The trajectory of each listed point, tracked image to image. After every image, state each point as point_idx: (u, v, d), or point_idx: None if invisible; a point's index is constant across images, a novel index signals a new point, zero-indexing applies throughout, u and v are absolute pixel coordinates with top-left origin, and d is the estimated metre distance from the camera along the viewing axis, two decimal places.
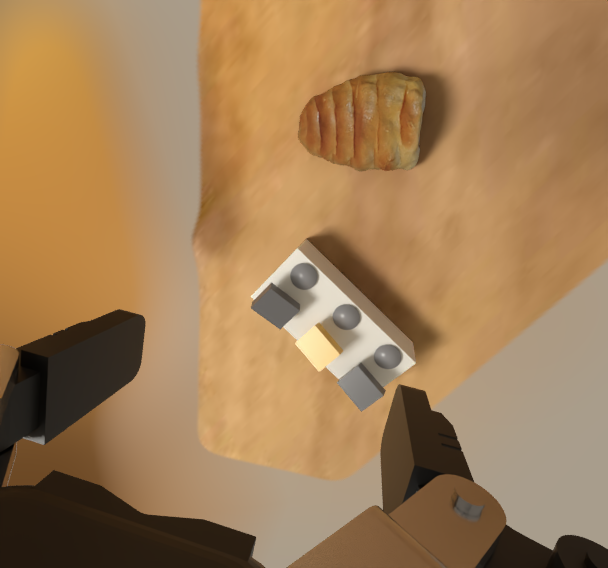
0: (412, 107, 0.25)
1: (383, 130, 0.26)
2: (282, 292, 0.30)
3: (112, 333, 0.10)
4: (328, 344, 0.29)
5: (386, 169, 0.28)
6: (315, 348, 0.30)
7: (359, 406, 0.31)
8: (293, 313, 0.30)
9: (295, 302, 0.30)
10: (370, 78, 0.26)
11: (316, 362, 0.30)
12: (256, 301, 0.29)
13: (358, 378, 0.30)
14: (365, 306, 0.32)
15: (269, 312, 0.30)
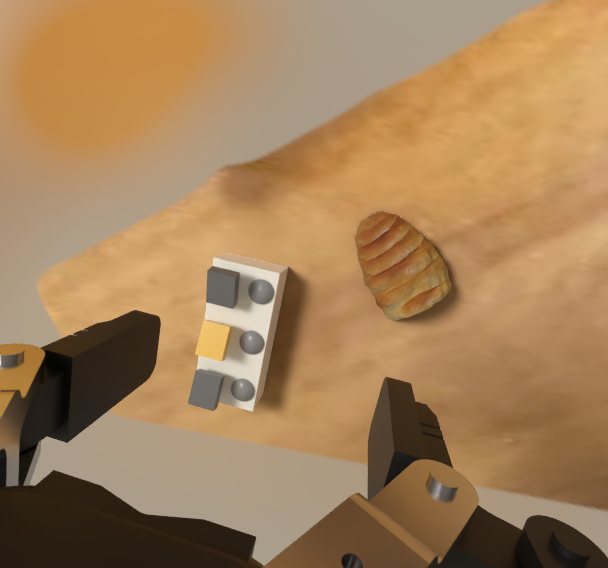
0: (430, 298, 0.31)
1: (404, 288, 0.31)
2: (237, 286, 0.31)
3: (130, 333, 0.10)
4: (222, 347, 0.32)
5: (377, 303, 0.33)
6: (211, 339, 0.32)
7: (190, 399, 0.33)
8: (227, 305, 0.32)
9: (236, 300, 0.32)
10: (433, 253, 0.31)
11: (201, 347, 0.32)
12: (216, 271, 0.31)
13: (211, 384, 0.33)
14: (268, 348, 0.35)
15: (214, 286, 0.31)
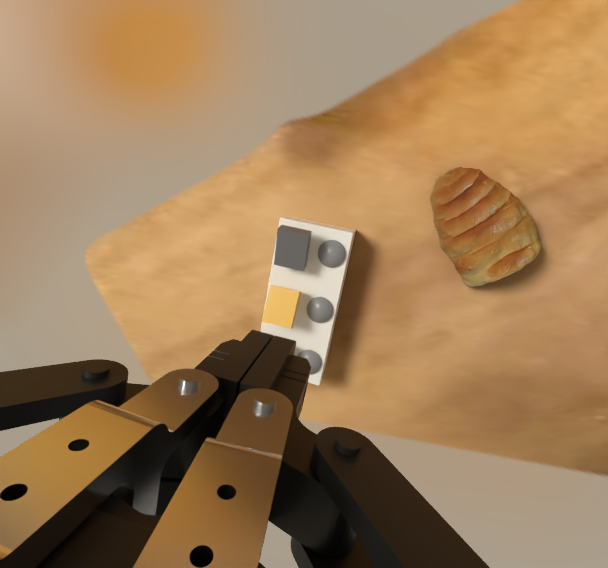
0: (521, 259, 0.28)
1: (491, 248, 0.28)
2: (308, 246, 0.29)
3: (261, 354, 0.11)
4: (291, 313, 0.30)
5: (457, 268, 0.30)
6: (279, 305, 0.30)
7: None
8: (297, 267, 0.29)
9: (306, 262, 0.30)
10: (522, 209, 0.28)
11: (268, 313, 0.30)
12: (287, 229, 0.28)
13: None
14: (335, 317, 0.33)
15: (284, 246, 0.29)
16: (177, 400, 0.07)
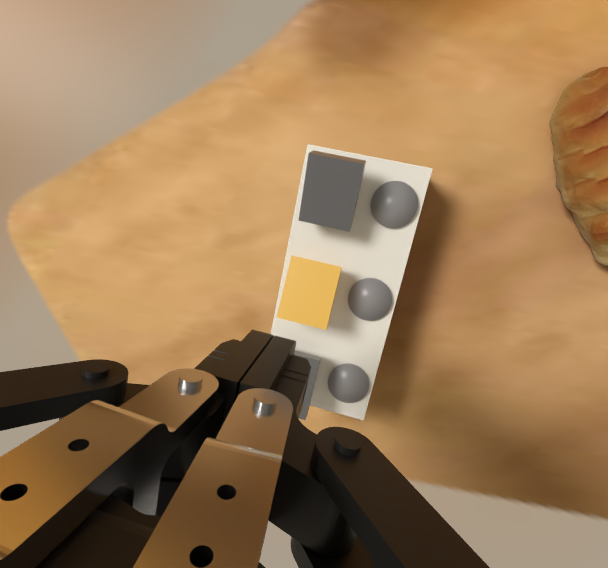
0: None
1: None
2: (359, 188, 0.17)
3: (261, 354, 0.11)
4: (328, 304, 0.17)
5: (598, 235, 0.18)
6: (307, 289, 0.18)
7: None
8: (339, 225, 0.17)
9: None
10: None
11: (287, 304, 0.18)
12: (324, 155, 0.16)
13: None
14: None
15: (319, 187, 0.16)
16: (177, 400, 0.07)
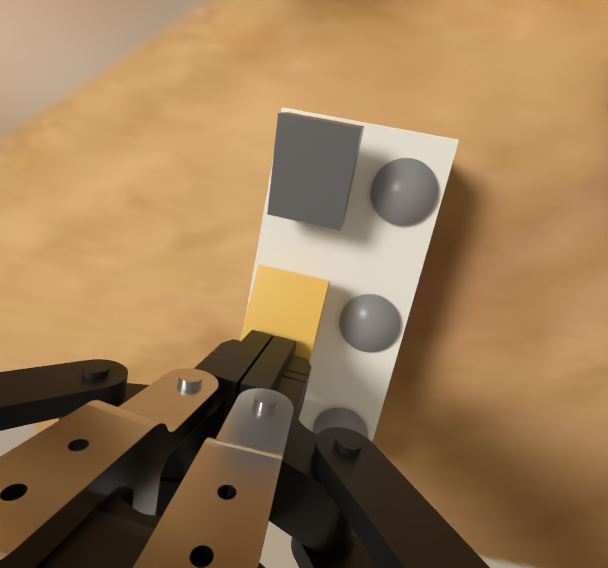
0: None
1: None
2: (355, 166, 0.12)
3: (261, 354, 0.11)
4: (309, 334, 0.12)
5: None
6: (280, 313, 0.12)
7: None
8: (325, 220, 0.12)
9: (345, 210, 0.12)
10: None
11: None
12: (302, 117, 0.11)
13: None
14: None
15: (294, 165, 0.11)
16: (177, 400, 0.07)
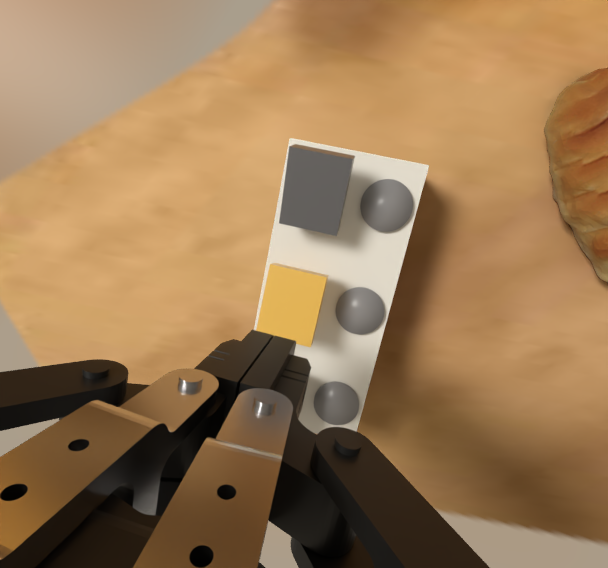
0: None
1: None
2: (347, 186, 0.15)
3: (261, 354, 0.11)
4: (312, 319, 0.15)
5: (601, 252, 0.17)
6: (288, 303, 0.16)
7: None
8: (324, 228, 0.15)
9: (340, 220, 0.15)
10: None
11: (267, 319, 0.16)
12: (307, 149, 0.14)
13: None
14: None
15: (301, 185, 0.14)
16: (177, 400, 0.07)
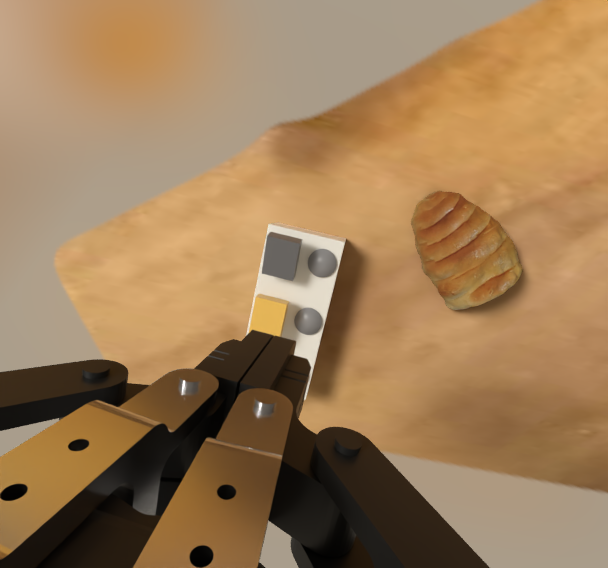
0: (503, 283, 0.28)
1: (473, 273, 0.28)
2: None
3: (261, 354, 0.11)
4: (279, 326, 0.28)
5: (440, 292, 0.30)
6: (266, 318, 0.28)
7: None
8: (286, 277, 0.28)
9: (295, 272, 0.28)
10: (502, 233, 0.28)
11: (254, 326, 0.28)
12: (276, 237, 0.27)
13: None
14: (323, 328, 0.31)
15: (273, 255, 0.27)
16: (177, 400, 0.07)
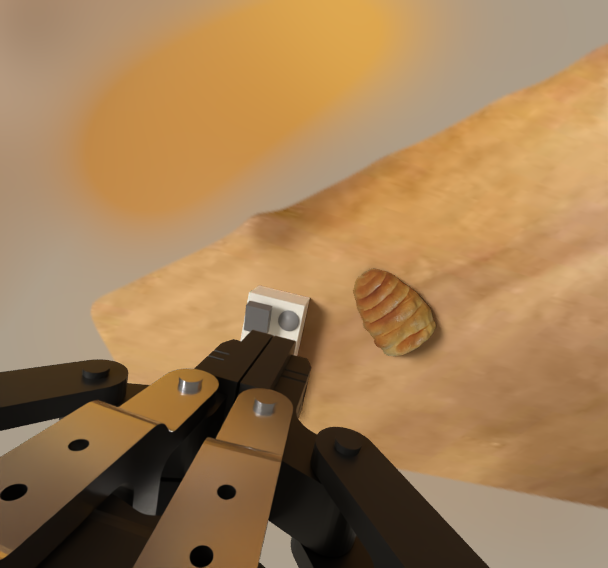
0: (418, 339, 0.38)
1: (396, 332, 0.38)
2: (270, 317, 0.38)
3: (261, 354, 0.11)
4: None
5: (376, 344, 0.40)
6: None
7: None
8: None
9: (268, 328, 0.38)
10: (418, 301, 0.38)
11: None
12: (253, 305, 0.37)
13: None
14: None
15: (251, 318, 0.37)
16: (177, 400, 0.07)
